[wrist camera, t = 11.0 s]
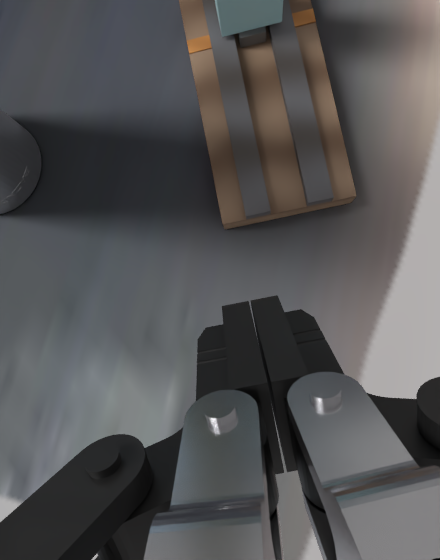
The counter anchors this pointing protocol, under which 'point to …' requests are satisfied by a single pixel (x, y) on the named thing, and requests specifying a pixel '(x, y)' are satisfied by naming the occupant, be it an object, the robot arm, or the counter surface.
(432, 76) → the counter surface
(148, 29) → the counter surface
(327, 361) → the robot arm
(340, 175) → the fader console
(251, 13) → the fader tab
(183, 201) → the counter surface
